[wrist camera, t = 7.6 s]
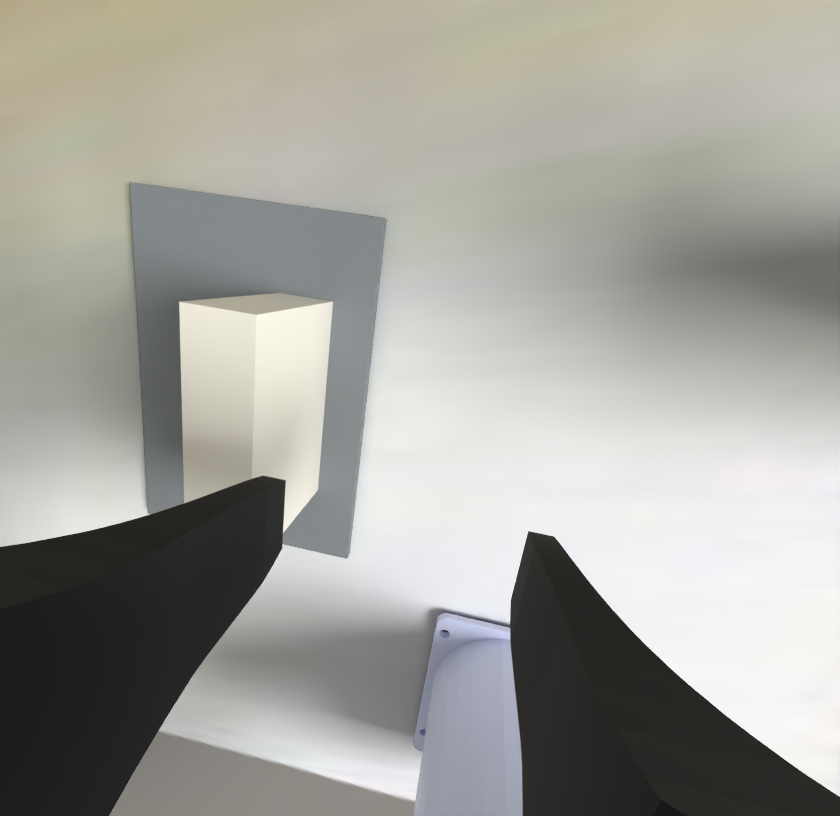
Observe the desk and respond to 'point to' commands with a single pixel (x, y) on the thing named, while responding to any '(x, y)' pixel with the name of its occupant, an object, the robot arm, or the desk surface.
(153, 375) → the mat
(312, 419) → the block
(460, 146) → the desk surface
